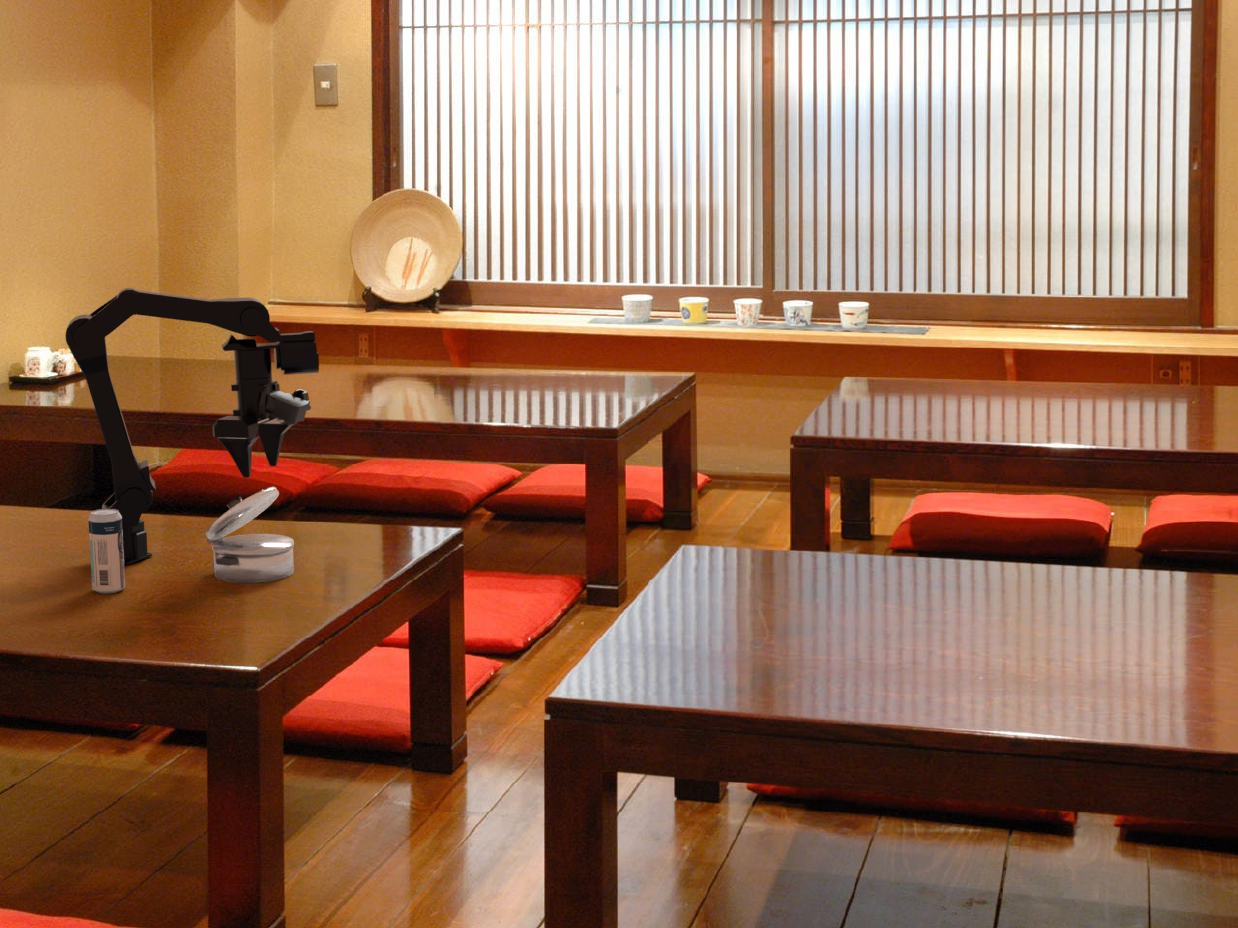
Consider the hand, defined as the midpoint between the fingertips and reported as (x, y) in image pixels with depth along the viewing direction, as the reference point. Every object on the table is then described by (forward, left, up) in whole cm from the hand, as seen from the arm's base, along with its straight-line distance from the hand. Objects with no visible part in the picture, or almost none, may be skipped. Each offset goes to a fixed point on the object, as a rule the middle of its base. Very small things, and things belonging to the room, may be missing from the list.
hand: (260, 471), depth 259 cm
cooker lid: (+5, -13, -5) cm, 15 cm away
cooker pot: (+7, -13, -13) cm, 20 cm away
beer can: (-7, -30, -13) cm, 33 cm away
